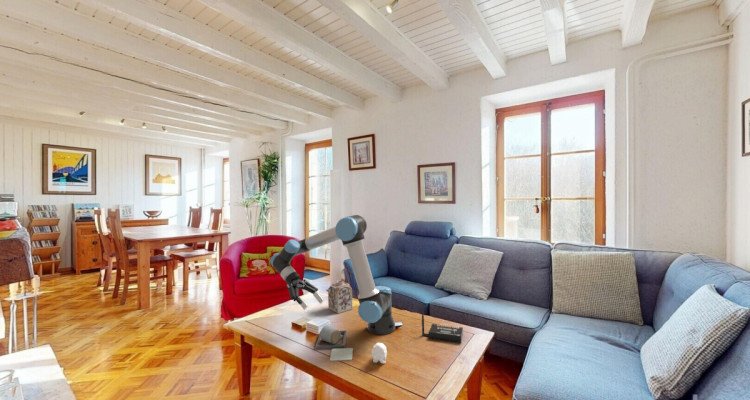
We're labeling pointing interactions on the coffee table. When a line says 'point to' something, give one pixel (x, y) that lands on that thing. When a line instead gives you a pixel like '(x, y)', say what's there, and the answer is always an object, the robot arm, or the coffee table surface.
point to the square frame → (332, 345)
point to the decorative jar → (340, 297)
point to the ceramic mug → (330, 334)
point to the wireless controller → (443, 332)
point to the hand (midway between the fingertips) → (314, 304)
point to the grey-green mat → (341, 354)
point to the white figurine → (379, 353)
